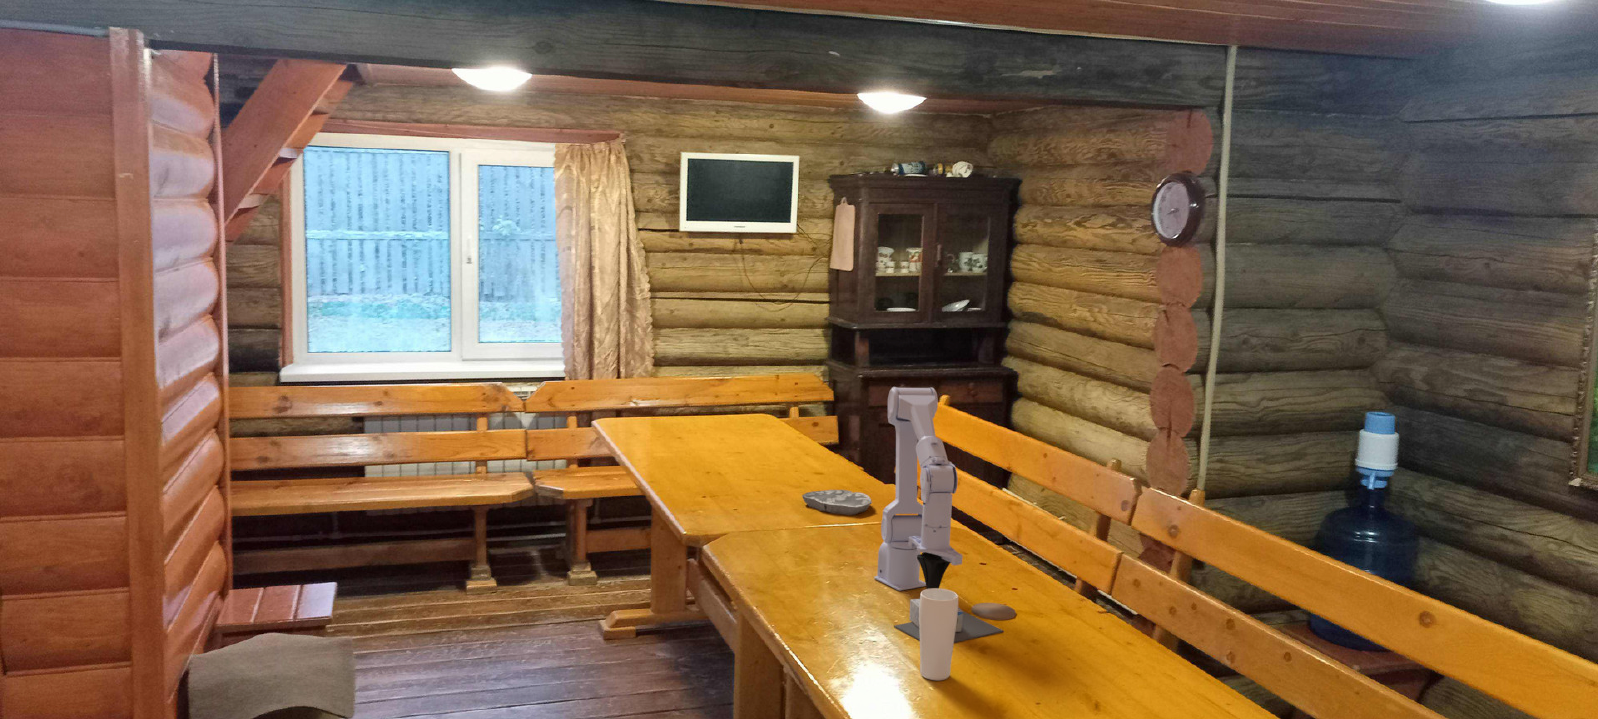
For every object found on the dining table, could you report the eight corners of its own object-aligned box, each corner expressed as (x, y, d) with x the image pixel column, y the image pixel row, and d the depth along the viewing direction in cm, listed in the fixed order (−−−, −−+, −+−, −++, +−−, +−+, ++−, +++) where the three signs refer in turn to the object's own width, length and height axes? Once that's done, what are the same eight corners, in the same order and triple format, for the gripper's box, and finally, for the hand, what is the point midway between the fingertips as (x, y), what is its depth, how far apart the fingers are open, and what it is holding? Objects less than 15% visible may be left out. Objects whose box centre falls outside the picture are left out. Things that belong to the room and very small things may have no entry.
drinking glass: (950, 668, 205) (955, 588, 203) (957, 683, 198) (961, 601, 196) (913, 667, 205) (917, 587, 203) (918, 683, 198) (922, 600, 196)
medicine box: (908, 619, 228) (925, 635, 220) (909, 598, 228) (926, 613, 219) (944, 616, 230) (962, 632, 222) (946, 595, 230) (963, 610, 222)
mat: (893, 627, 225) (893, 625, 224) (963, 612, 234) (963, 611, 234) (932, 647, 214) (932, 646, 214) (1003, 631, 224) (1003, 630, 224)
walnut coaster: (962, 610, 237) (962, 606, 237) (994, 603, 242) (994, 600, 241) (991, 624, 229) (992, 620, 229) (1024, 617, 234) (1024, 613, 234)
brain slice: (884, 507, 318) (885, 497, 317) (855, 520, 303) (855, 509, 303) (824, 496, 328) (825, 486, 327) (793, 507, 314) (793, 497, 313)
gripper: (898, 517, 230) (894, 582, 232) (944, 536, 218) (940, 604, 220) (925, 513, 234) (921, 577, 236) (971, 531, 222) (968, 598, 224)
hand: (932, 589), depth 228 cm, fingers closed
